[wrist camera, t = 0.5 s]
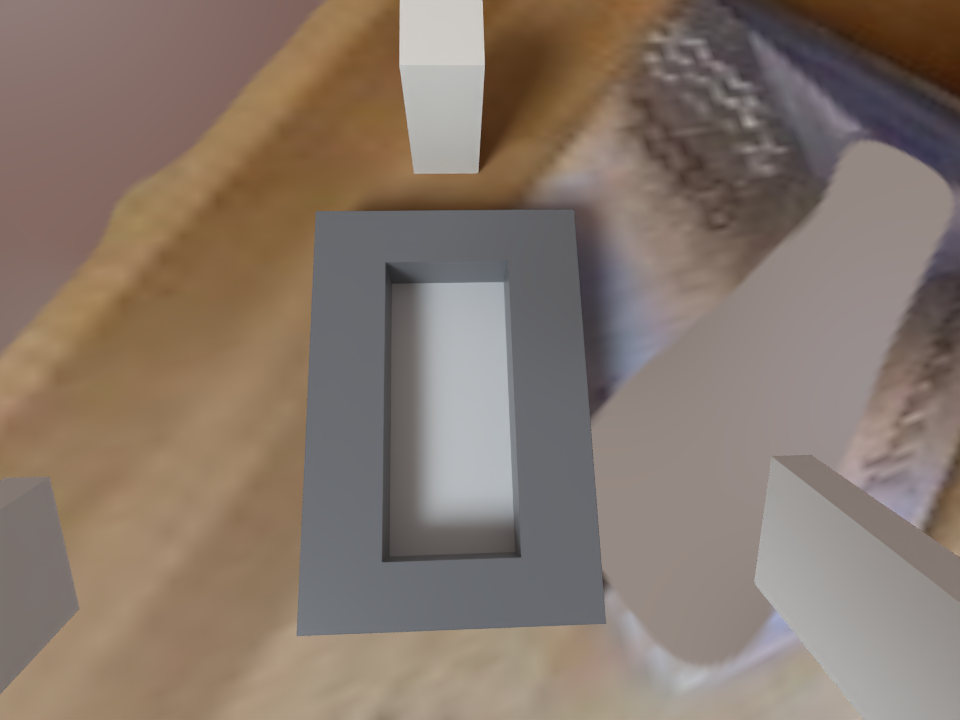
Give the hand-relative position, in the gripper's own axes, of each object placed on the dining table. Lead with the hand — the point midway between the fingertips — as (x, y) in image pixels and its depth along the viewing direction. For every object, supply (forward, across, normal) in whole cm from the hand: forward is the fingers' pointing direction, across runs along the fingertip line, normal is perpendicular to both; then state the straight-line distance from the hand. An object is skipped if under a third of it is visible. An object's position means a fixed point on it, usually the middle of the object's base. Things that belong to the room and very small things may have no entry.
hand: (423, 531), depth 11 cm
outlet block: (+20, 0, +5) cm, 21 cm away
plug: (+29, 0, -10) cm, 30 cm away
